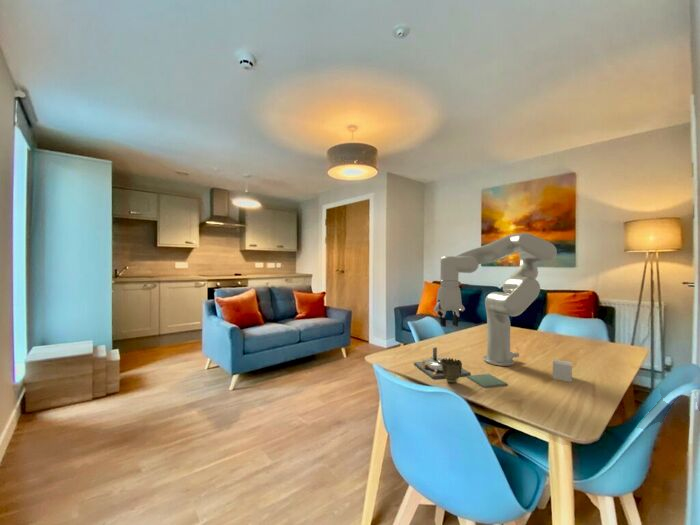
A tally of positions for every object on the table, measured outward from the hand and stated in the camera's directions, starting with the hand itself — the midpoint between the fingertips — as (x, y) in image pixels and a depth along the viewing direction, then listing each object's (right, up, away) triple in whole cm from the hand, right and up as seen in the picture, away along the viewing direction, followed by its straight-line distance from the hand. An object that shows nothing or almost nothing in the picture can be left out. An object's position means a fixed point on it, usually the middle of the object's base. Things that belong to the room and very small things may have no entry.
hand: (449, 325), depth 133 cm
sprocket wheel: (-5, -16, -6) cm, 18 cm away
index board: (-5, -17, -6) cm, 19 cm away
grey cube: (+40, -18, -14) cm, 46 cm away
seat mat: (+8, -17, -18) cm, 26 cm away
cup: (-5, -18, -19) cm, 26 cm away
